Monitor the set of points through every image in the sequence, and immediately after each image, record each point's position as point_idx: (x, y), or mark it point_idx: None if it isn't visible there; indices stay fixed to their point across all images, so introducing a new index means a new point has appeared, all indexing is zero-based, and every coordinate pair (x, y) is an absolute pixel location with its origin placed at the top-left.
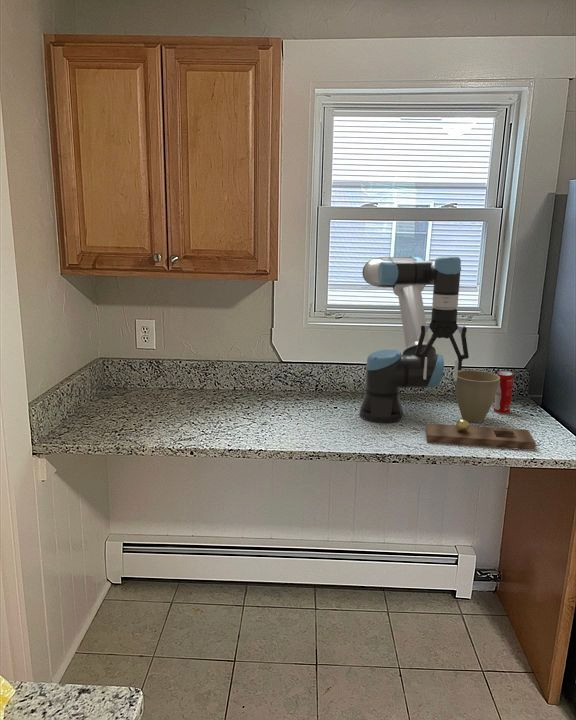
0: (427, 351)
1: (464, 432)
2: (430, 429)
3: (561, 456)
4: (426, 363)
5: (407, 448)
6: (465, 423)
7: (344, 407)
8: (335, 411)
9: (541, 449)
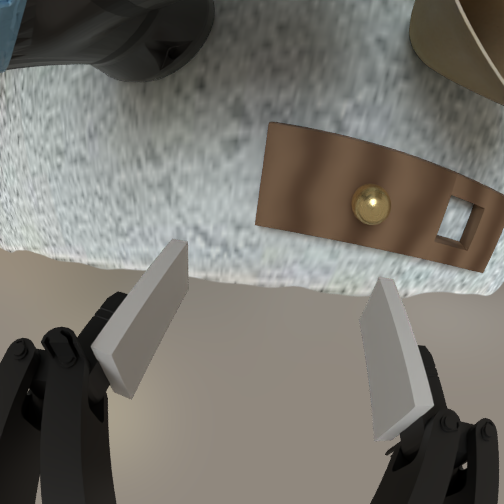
0: (102, 454)
1: None
2: (272, 181)
3: (491, 287)
4: (141, 370)
5: (205, 250)
6: (376, 224)
7: None
8: None
9: None
